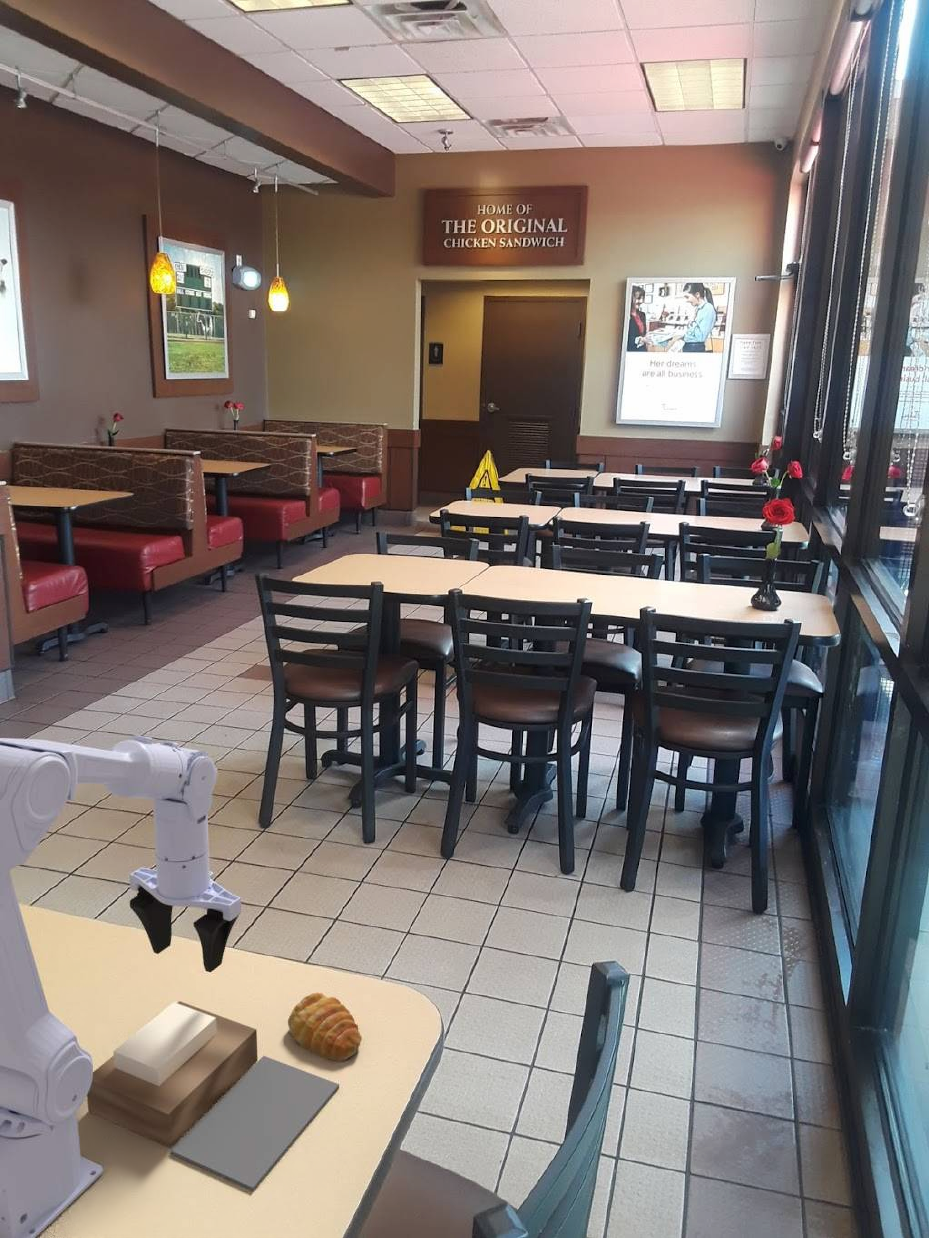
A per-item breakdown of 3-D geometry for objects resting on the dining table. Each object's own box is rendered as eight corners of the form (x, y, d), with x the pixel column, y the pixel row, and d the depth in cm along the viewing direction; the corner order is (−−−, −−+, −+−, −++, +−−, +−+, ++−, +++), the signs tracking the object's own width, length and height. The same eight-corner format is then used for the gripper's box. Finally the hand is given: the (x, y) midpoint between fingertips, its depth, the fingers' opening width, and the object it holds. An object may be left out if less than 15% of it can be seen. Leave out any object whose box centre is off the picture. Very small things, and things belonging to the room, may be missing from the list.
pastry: (376, 1046, 107) (376, 1018, 106) (329, 1075, 103) (328, 1045, 102) (327, 1008, 114) (326, 981, 113) (281, 1033, 109) (280, 1005, 108)
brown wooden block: (170, 1148, 92) (168, 1114, 91) (88, 1111, 96) (85, 1078, 95) (257, 1059, 104) (256, 1029, 103) (181, 1030, 109) (179, 1000, 108)
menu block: (158, 1086, 95) (157, 1069, 94) (114, 1067, 97) (113, 1051, 97) (216, 1033, 103) (216, 1017, 102) (174, 1017, 105) (173, 1001, 104)
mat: (253, 1191, 87) (253, 1187, 87) (170, 1153, 91) (170, 1150, 91) (339, 1087, 100) (339, 1084, 100) (263, 1058, 104) (263, 1055, 104)
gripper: (257, 849, 104) (260, 956, 107) (158, 822, 110) (164, 924, 113) (215, 877, 98) (219, 990, 101) (113, 846, 104) (120, 954, 107)
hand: (187, 957), depth 106 cm, fingers open, 7 cm apart
